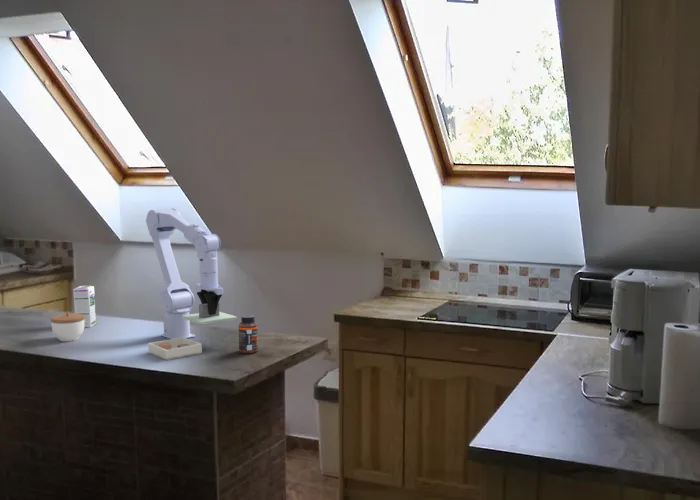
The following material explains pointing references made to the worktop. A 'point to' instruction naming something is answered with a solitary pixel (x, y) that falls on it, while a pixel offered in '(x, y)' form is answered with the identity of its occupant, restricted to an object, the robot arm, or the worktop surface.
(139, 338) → the worktop surface
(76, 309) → the syrup box
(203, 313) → the lid
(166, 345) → the storage box
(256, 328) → the supplement bottle
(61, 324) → the lidded jar
